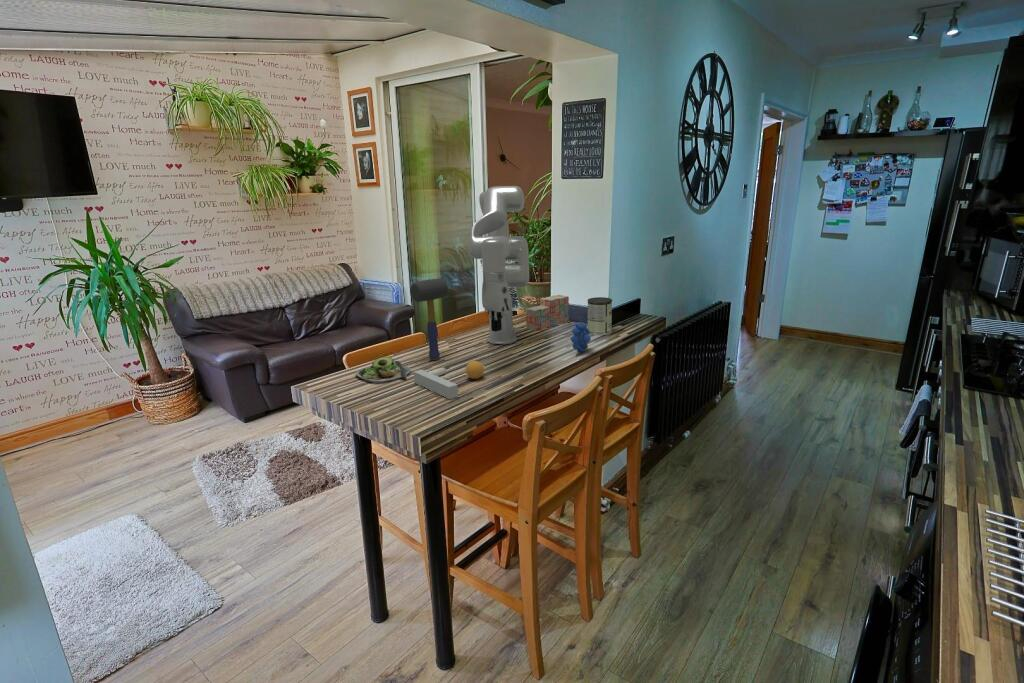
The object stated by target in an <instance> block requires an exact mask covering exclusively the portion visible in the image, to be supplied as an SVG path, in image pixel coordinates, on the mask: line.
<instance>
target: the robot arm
mask: <svg viewBox="0 0 1024 683" xmlns="http://www.w3.org/2000/svg"><path fill="white" fill-rule="evenodd" d="M478 199H479V200H478V201H479V207H480V209H481V210H480V211H481V213H482V215H481V217H480V218H478V219H477V220H476V221H475V222H474V223H473V225H472V226H471V228H470V231H469V238H468V240H469V241H468V251H469V255H470V256H471V257H472V258H473V259H475V260H476V259H477V260H481V262H482V263H481V264H482V284H481V286H482V288H481V302H482V303H481V304H482V308H483V309H484V311H485V313H487V314H488V321H489V323H488V324H489V336H487V337H486V342H487V343H488V342H489V343H488V344H490V343H491V344H490V345H495V344H504V345H509V344H510V345H511V344H513V343H516V342H517V340H518V337H517V336H516V335H517V334H519V333H522V331H523V330H522V328H521V327H518V328H515V327H514V324H513V323H514V322H513V321H514V320H513V317H514V316H513V298H512V295H511V293H510V288H524V287H525V288H526V287H527V286H528V285H529V282H530V262H529V245H528V241H527V238H526V237H525V236H523V235H522V236H520V235H510V231H509V230H510V229H509V228H510V226H509V222H508V213H514V212H517V213H518V212H521V211H523V208H524V207H525V195H524V192H523V189H522V188H521V187H520V186H517V185H499V186H498V185H497V186H491V187H489V188H487V189H486V190H484V191H483V192H481V193H480V194H479V197H478ZM486 235H487V236H486ZM506 261H516V263H514V262H513V263H507V262H506Z"/></svg>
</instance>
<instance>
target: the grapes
mask: <svg viewBox="0 0 1024 683" xmlns="http://www.w3.org/2000/svg"><path fill="white" fill-rule="evenodd" d="M571 333H572V335H571V337H570V341H571V343H573V344H572V345H571V346H572V348H573V350H575V351H577V353H579V354H580V353H582V352H584V351H585V350H587V349H588V347H589V346H588V344H589V343H590V342H591V336H590V335H591V334H590V331H589V329H588V324H586V323H585V322H579V321H578V322H576V323H575V325H574V327H573V328H572V329H571Z"/></svg>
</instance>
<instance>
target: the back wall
mask: <svg viewBox="0 0 1024 683" xmlns="http://www.w3.org/2000/svg"><path fill="white" fill-rule="evenodd" d="M413 378H414V380H413V381H414V384H415V383H416V385H417V386H420V387H422V386H423V387H422V388H424V387H425V388H424V389H426V388H427V389H426V390H428V389H429V391H430V390H431V392H433V391H434V392H433V393H435V392H436V393H435V394H437V393H438V394H437V395H439V394H440V395H439V396H441V395H442V396H441V397H443V396H444V398H445V397H446V399H448V400H450V399H451V400H453V398H454V399H456V398H455V397H457V398H458V397H459V390H458V383H455V382H452V381H450V380H447V379H446V378H443V377H441V376H436V375H433V374H431V373H429V371H426V370H424V369H419V370H415V371H413Z"/></svg>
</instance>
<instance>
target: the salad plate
mask: <svg viewBox="0 0 1024 683" xmlns="http://www.w3.org/2000/svg"><path fill="white" fill-rule="evenodd" d="M371 364H372V365H371V366H368V367H364V368H361V369H358V370H357V371H356V372H355V376H356V377H357V378H358V379H359V380H363V381H365V382H368V383H372V382H373V383H374V384H386V383H391V382H393V381H397V380H399V379H400V378H401V379H404V378H407V377H408V374H410V372H411V369H412V368H410V367H409V366H405V365H402V363H401V361H399V360H394V359H393V358H392V357H391V356H387V355H386V356H381V357H378V358H375V359H374V360H373V361H372V363H371ZM384 377H385V378H384ZM378 378H384V379H378ZM388 378H389V379H388ZM390 381H391V382H390ZM385 382H386V383H385Z"/></svg>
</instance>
